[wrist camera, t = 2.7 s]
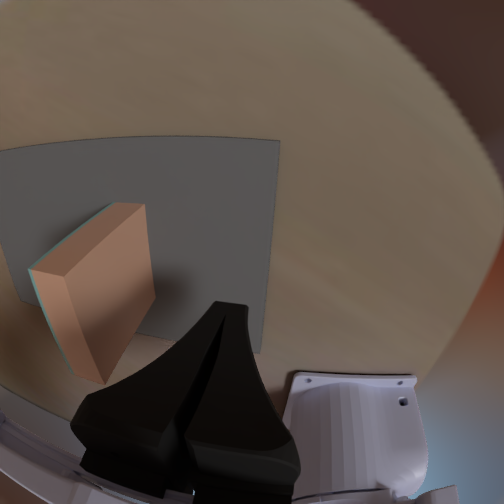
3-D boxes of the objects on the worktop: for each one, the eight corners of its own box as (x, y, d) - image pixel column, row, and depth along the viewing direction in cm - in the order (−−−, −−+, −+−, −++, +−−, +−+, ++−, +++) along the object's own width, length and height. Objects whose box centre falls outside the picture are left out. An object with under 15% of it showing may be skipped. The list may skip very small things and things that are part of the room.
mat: (280, 140, 13) (279, 141, 13) (260, 350, 19) (259, 353, 19) (-15, 153, 15) (-18, 154, 15) (22, 299, 21) (20, 300, 21)
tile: (144, 204, 15) (63, 276, 9) (155, 297, 18) (105, 385, 12) (112, 202, 15) (27, 268, 9) (127, 292, 18) (71, 373, 12)
